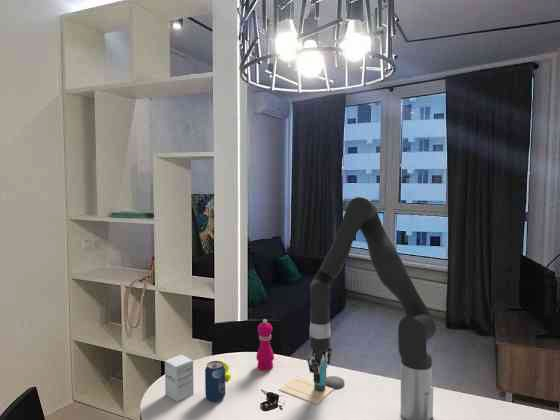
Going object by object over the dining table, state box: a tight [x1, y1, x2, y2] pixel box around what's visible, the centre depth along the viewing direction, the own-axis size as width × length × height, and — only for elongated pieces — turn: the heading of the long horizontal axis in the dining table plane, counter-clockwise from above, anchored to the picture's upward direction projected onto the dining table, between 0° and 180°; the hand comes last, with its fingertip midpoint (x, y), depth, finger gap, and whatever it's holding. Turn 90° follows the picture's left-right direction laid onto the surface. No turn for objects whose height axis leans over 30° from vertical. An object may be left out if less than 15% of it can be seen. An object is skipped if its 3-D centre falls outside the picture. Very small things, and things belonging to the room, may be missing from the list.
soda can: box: [204, 360, 226, 403], centre depth 134 cm, size 7×7×12 cm
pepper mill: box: [255, 319, 275, 372], centre depth 156 cm, size 7×7×20 cm
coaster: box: [325, 375, 345, 389], centre depth 144 cm, size 8×8×1 cm
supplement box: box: [164, 354, 195, 403], centre depth 136 cm, size 7×7×13 cm
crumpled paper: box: [221, 359, 232, 381], centre depth 148 cm, size 6×8×8 cm
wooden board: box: [278, 375, 335, 405], centre depth 139 cm, size 16×12×1 cm
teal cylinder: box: [313, 356, 326, 391], centre depth 139 cm, size 4×4×12 cm
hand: (320, 379), depth 139 cm, fingers closed on teal cylinder, 4 cm apart
